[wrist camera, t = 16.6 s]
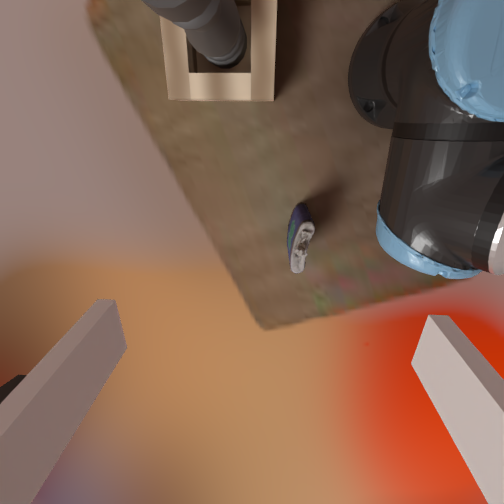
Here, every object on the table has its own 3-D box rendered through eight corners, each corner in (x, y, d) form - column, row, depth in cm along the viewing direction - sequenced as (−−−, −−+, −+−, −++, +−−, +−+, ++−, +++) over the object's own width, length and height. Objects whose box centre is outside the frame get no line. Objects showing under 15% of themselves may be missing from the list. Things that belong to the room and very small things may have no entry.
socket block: (277, -23, 36) (279, -46, 31) (273, 101, 42) (273, 99, 37) (170, -21, 37) (153, -43, 32) (181, 100, 43) (168, 99, 38)
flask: (298, 251, 53) (304, 281, 44) (283, 248, 53) (285, 278, 44) (310, 203, 49) (319, 225, 40) (293, 201, 49) (298, 222, 40)
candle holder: (251, 63, 40) (223, 0, 17) (208, 73, 41) (130, 25, 18) (242, 8, 37) (196, -151, 15) (197, 20, 38) (89, -114, 16)
